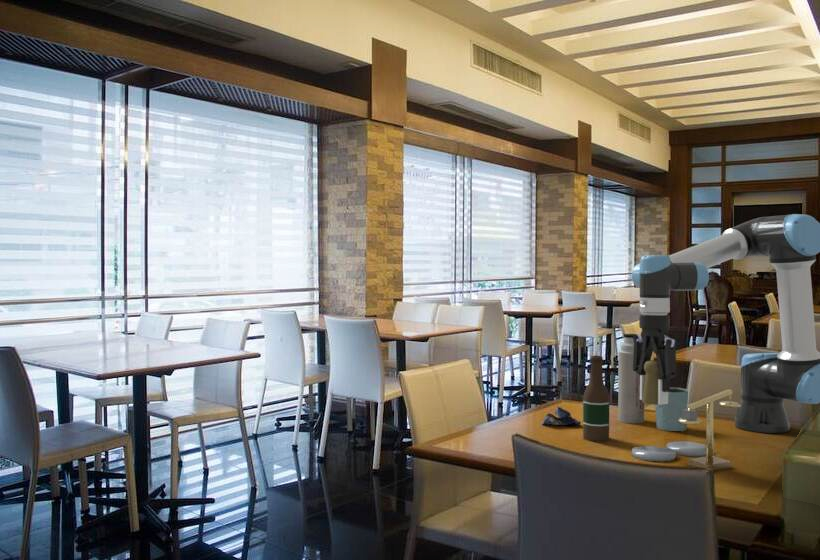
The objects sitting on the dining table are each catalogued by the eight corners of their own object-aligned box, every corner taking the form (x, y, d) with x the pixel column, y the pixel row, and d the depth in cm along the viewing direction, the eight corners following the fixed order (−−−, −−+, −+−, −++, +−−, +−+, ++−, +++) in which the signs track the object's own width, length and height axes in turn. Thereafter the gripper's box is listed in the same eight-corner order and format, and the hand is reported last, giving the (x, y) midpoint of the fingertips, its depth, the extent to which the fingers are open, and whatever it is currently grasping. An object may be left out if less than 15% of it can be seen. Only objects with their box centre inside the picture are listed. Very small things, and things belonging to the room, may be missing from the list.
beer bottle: (578, 435, 207) (579, 354, 206) (604, 435, 208) (604, 354, 207) (587, 442, 199) (587, 358, 199) (614, 441, 200) (614, 357, 199)
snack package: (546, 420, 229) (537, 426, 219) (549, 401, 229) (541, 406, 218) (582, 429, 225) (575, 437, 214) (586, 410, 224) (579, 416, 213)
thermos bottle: (649, 421, 224) (650, 334, 224) (631, 424, 221) (631, 335, 220) (631, 417, 232) (631, 332, 231) (612, 419, 228) (613, 333, 227)
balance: (727, 458, 182) (727, 386, 181) (746, 465, 176) (747, 390, 176) (672, 467, 174) (672, 392, 174) (690, 474, 169) (691, 396, 168)
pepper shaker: (668, 405, 181) (668, 362, 181) (643, 404, 182) (643, 361, 182) (664, 400, 187) (664, 359, 187) (640, 399, 188) (640, 358, 188)
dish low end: (654, 448, 192) (654, 444, 192) (685, 458, 182) (685, 454, 182) (622, 453, 188) (622, 448, 188) (652, 463, 178) (652, 459, 178)
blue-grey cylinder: (677, 433, 209) (678, 393, 208) (646, 427, 216) (646, 389, 216) (694, 428, 215) (694, 389, 215) (663, 423, 223) (663, 385, 223)
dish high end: (688, 444, 197) (688, 439, 197) (719, 453, 187) (719, 449, 187) (657, 448, 193) (657, 443, 192) (688, 458, 182) (688, 453, 182)
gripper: (618, 311, 191) (618, 396, 192) (670, 316, 174) (669, 409, 174) (640, 311, 194) (639, 394, 195) (693, 315, 177) (692, 407, 177)
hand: (653, 401), depth 185 cm, fingers closed on pepper shaker, 6 cm apart
